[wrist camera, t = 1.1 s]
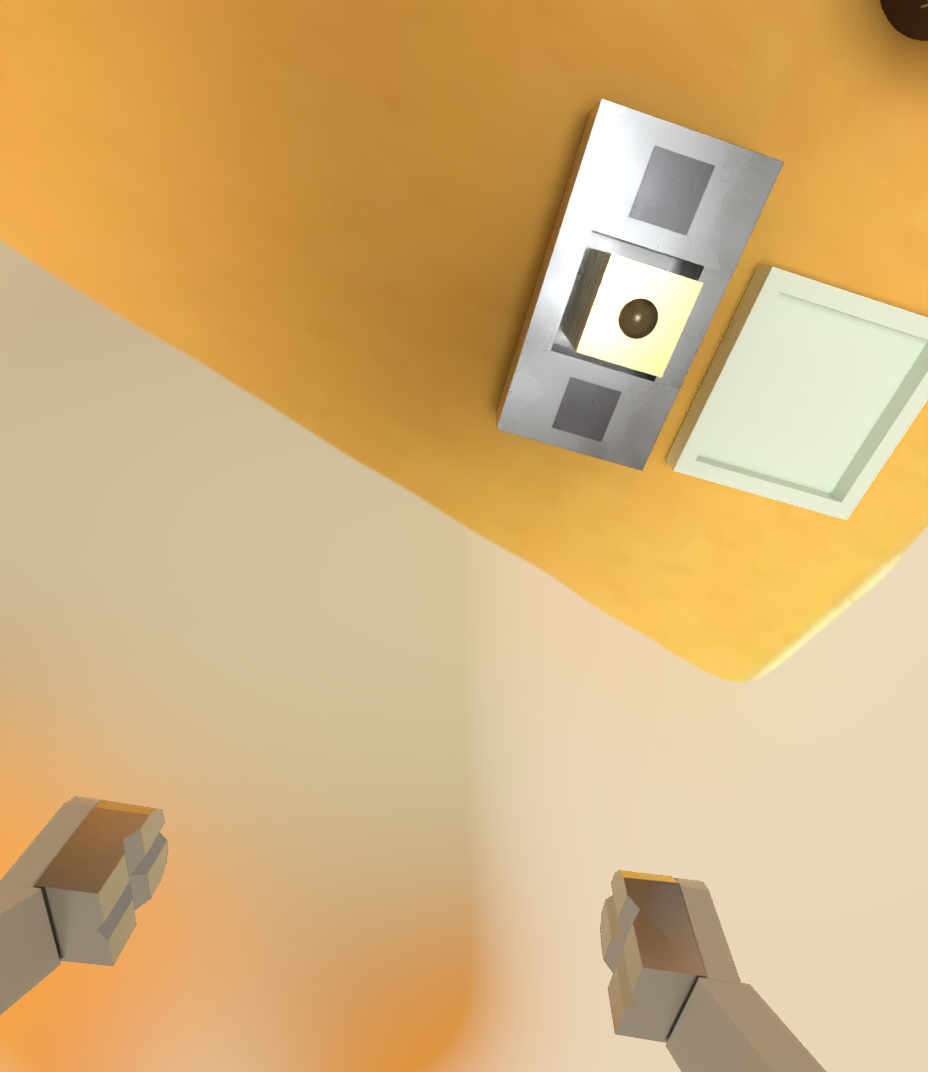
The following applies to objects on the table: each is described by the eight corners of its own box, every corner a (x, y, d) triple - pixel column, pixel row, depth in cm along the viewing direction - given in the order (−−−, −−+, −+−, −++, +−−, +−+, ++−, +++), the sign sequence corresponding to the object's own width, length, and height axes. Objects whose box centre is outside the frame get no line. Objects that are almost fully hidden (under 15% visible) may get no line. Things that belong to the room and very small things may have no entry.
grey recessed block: (589, 111, 29) (602, 98, 26) (753, 168, 30) (785, 161, 27) (495, 411, 37) (496, 429, 34) (629, 449, 38) (642, 471, 34)
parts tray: (758, 264, 32) (772, 266, 31) (949, 326, 34) (972, 332, 32) (665, 459, 38) (673, 470, 36) (831, 507, 39) (846, 520, 38)
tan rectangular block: (591, 248, 32) (612, 254, 26) (668, 272, 32) (704, 283, 27) (562, 331, 34) (576, 352, 28) (635, 353, 34) (662, 378, 29)
